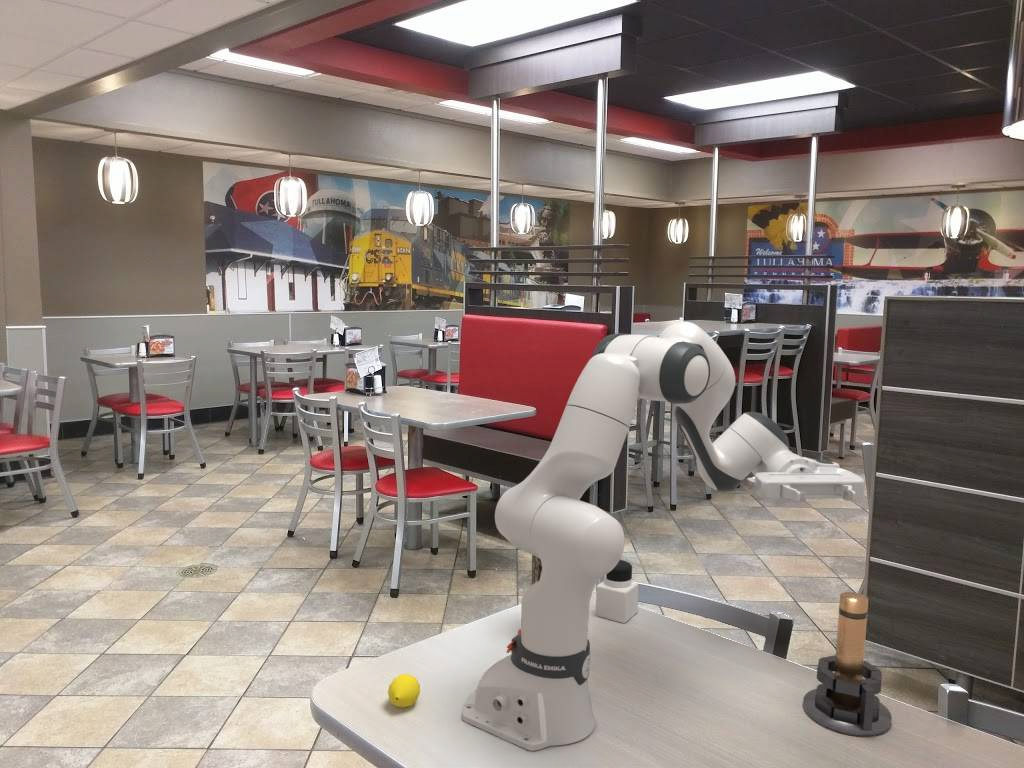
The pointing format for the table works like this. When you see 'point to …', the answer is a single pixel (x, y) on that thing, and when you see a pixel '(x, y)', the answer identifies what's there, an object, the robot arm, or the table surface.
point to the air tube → (850, 643)
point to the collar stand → (841, 718)
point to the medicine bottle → (617, 594)
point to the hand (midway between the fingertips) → (826, 497)
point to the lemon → (404, 690)
